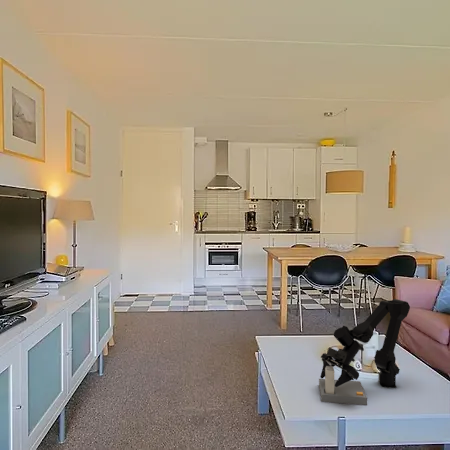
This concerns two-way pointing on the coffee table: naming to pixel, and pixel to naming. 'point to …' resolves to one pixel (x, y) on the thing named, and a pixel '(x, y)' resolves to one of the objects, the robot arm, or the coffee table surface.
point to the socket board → (344, 393)
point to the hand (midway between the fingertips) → (328, 382)
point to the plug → (329, 380)
